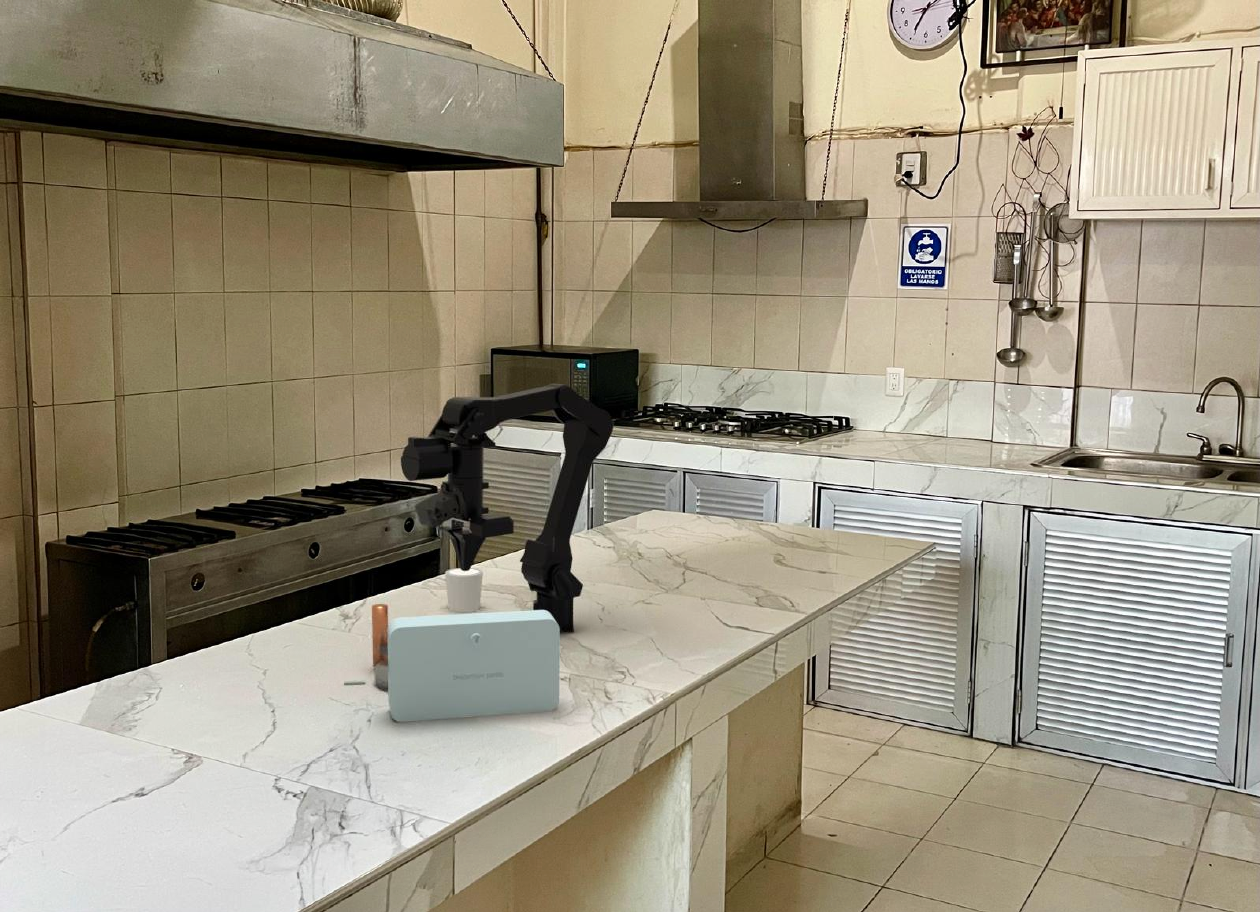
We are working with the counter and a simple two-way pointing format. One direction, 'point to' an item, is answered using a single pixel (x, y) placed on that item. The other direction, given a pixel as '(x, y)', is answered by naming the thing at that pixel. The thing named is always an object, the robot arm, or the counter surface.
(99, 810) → the counter surface
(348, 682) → the pale green bar
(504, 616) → the pale blue box
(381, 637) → the copper rod with bracket
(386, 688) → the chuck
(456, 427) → the robot arm
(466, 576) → the white cup
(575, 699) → the counter surface
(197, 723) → the counter surface
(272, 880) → the counter surface
